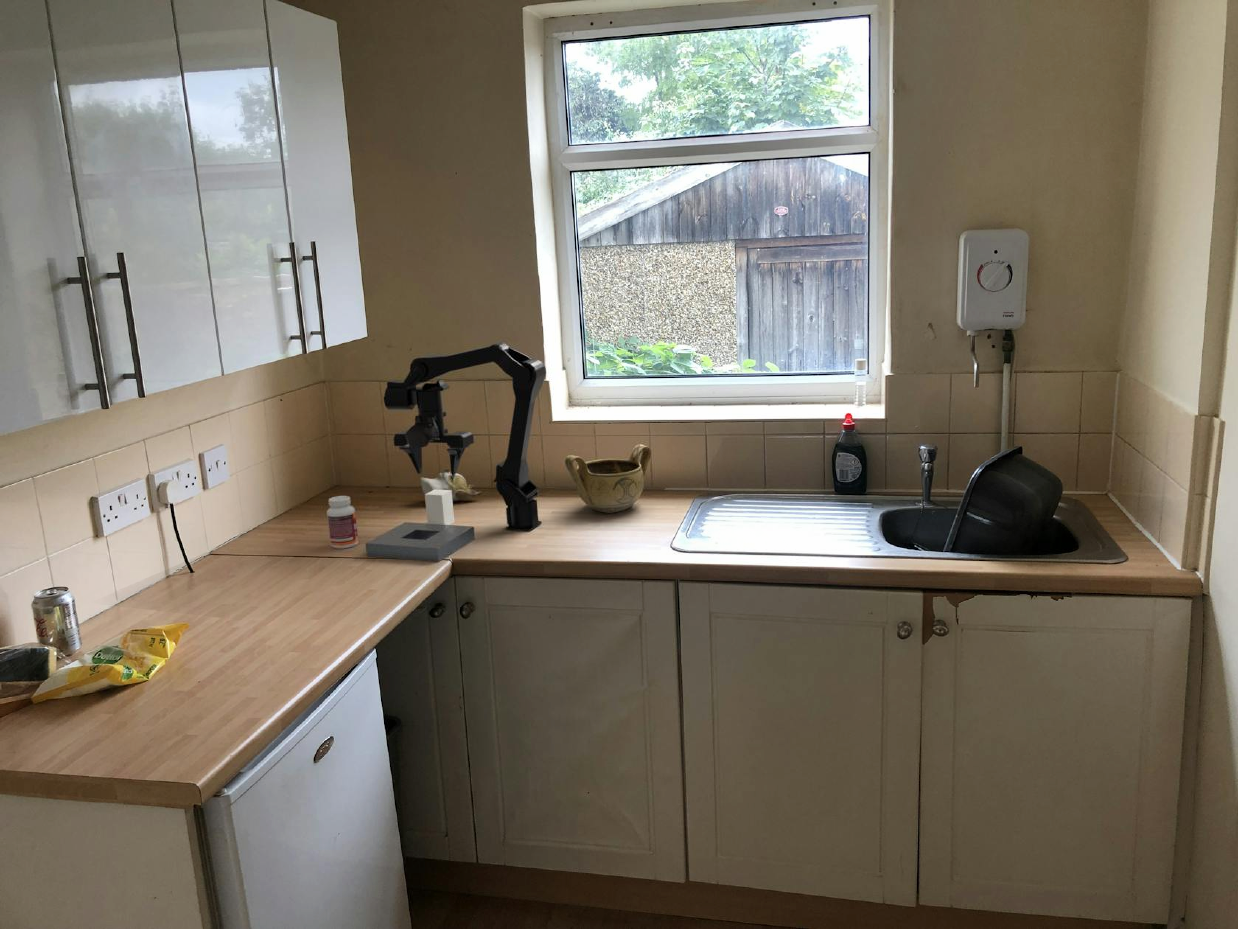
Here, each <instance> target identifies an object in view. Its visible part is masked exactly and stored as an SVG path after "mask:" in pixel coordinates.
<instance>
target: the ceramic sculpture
mask: <svg viewBox="0 0 1238 929" xmlns="http://www.w3.org/2000/svg"><path fill="white" fill-rule="evenodd" d="M420 483H421V488H422V492H423V493H424V495H425V494H427V493H429V492H431V491H433V490H435V489H436V490H452V501H453V502H457V501H459V500H464V501H466V500H472V499H474V498H476V497H479V496H480V495H482V494H483V492H482V491H476V490H475V489H472V488H473V487H474V484H467V480H466V478H465V477H464V476H463V475H461V474H460V473H457V472H456V474H455V475H452V473H451V471H450V470H449V469H445V470H442V471H440V472H439V474H438V475H437V477H435V478H427V477H420Z"/></svg>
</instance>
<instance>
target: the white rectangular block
mask: <svg viewBox="0 0 1238 929" xmlns="http://www.w3.org/2000/svg"><path fill="white" fill-rule="evenodd" d="M424 502H425V509H426V510H425V511H426V521H427V524H442V525H453V524H454V523H455V514H454V505H453V503H454V501H452V490H436V489H435V490H433V491H431V492H429V493H427V494H424Z"/></svg>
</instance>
